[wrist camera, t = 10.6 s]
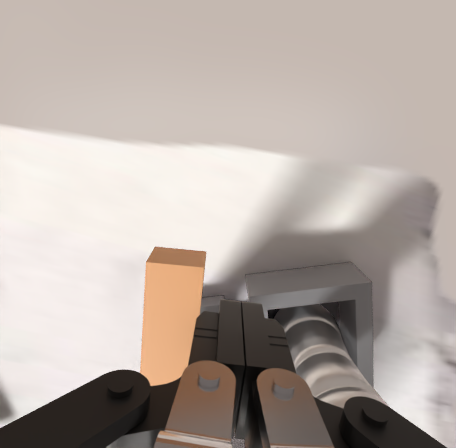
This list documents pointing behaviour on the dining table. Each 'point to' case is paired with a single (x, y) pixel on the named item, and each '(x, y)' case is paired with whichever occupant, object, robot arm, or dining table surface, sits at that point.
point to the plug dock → (319, 302)
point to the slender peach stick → (170, 312)
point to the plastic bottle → (322, 355)
